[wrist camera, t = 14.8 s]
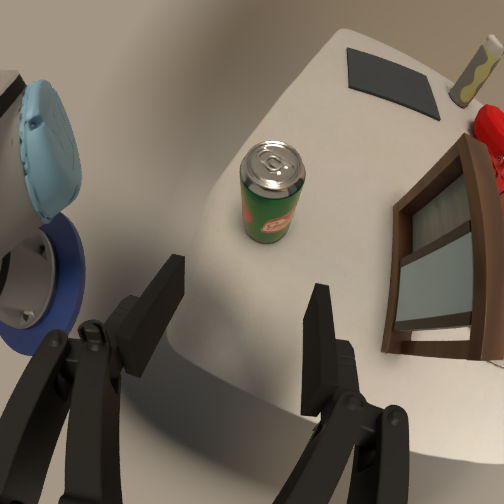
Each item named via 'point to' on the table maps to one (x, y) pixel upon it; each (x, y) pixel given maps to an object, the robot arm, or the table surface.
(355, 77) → the mat
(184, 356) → the table surface
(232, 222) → the table surface
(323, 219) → the table surface
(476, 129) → the apple
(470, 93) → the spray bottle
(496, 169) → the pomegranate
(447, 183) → the window frame
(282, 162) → the soda can
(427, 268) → the window pane
